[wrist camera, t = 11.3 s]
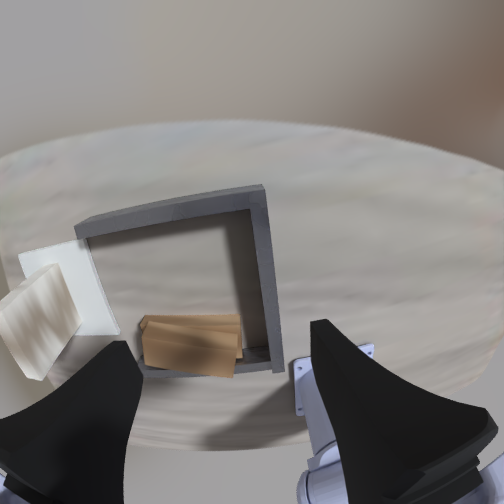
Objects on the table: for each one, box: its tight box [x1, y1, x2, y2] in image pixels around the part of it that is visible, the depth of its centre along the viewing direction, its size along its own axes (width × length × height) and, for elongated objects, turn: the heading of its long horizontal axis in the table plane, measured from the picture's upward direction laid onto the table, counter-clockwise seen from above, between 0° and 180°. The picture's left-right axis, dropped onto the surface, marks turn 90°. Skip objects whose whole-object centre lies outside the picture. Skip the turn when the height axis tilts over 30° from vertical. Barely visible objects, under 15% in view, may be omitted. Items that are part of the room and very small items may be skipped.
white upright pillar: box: [0, 263, 82, 381], centre depth 16 cm, size 6×2×8 cm, turn 8°
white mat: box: [18, 238, 121, 335], centre depth 20 cm, size 9×9×1 cm
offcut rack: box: [74, 184, 285, 378], centre depth 19 cm, size 14×13×2 cm
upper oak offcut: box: [142, 321, 238, 378], centre depth 19 cm, size 3×7×2 cm, turn 81°
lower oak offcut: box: [140, 314, 242, 358], centre depth 21 cm, size 4×8×2 cm, turn 92°
